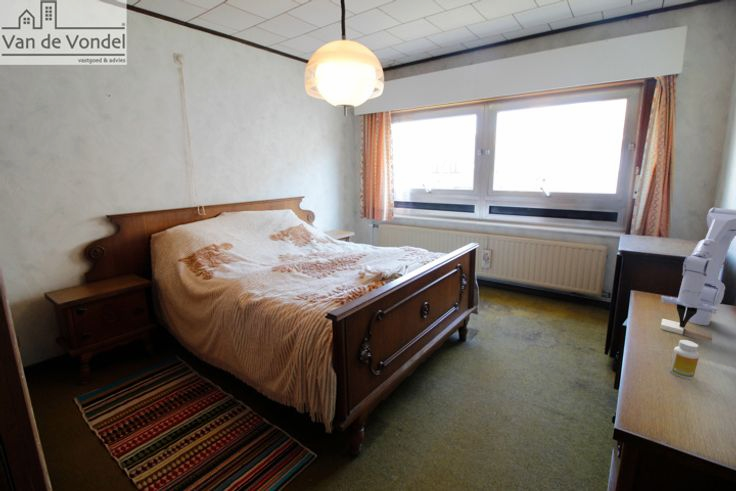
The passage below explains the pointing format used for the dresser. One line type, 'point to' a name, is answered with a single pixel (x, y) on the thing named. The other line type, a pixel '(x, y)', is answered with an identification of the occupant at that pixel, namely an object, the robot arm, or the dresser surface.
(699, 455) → the dresser surface
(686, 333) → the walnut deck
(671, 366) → the supplement bottle
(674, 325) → the cream tile
